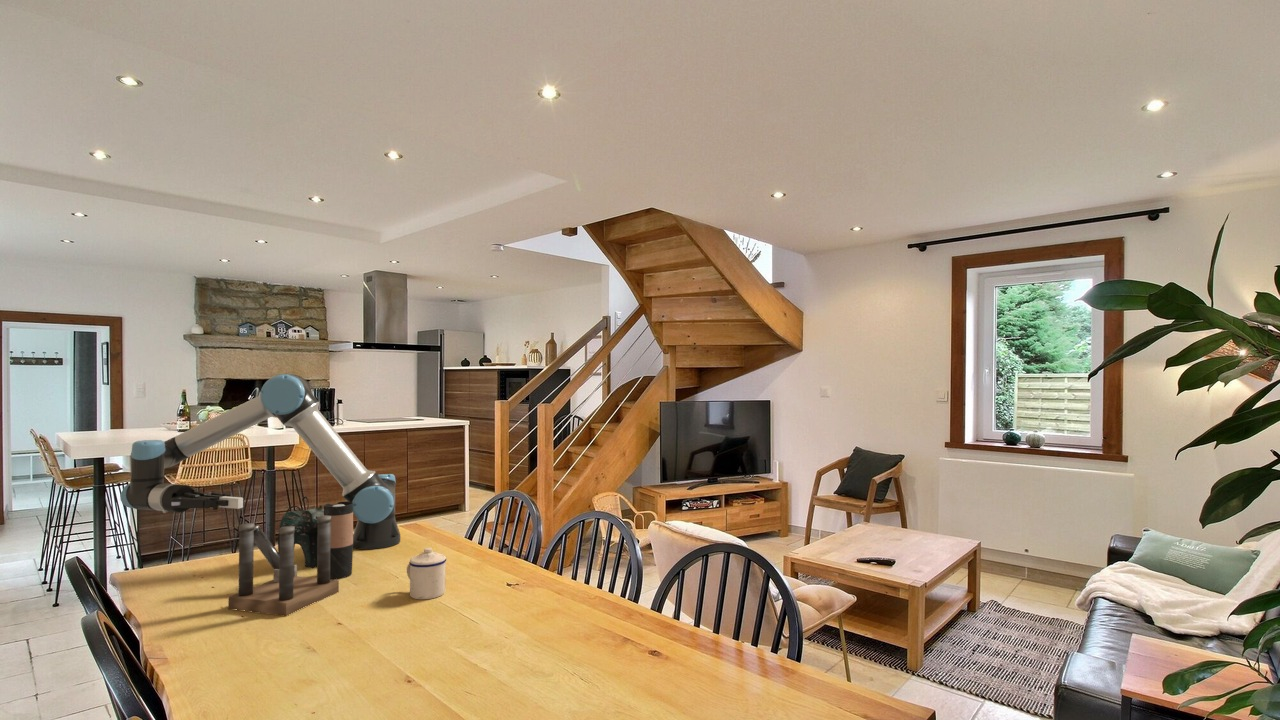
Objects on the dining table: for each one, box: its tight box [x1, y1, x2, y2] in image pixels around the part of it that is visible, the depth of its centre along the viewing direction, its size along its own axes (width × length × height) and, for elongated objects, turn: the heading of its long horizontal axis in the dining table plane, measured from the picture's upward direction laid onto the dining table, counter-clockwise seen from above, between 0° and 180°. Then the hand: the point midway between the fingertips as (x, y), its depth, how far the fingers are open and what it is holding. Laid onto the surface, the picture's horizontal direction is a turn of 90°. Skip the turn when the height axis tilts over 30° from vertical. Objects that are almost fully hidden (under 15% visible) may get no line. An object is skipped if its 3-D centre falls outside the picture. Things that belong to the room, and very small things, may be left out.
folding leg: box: [254, 524, 279, 571], centre depth 167 cm, size 3×3×15 cm
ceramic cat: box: [277, 496, 324, 569], centre depth 190 cm, size 20×6×20 cm, turn 58°
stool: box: [227, 516, 340, 617], centre depth 158 cm, size 17×17×20 cm
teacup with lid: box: [406, 547, 447, 600], centre depth 163 cm, size 12×9×12 cm
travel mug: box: [323, 501, 354, 580], centre depth 178 cm, size 8×8×20 cm
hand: (240, 503), depth 171 cm, fingers closed
